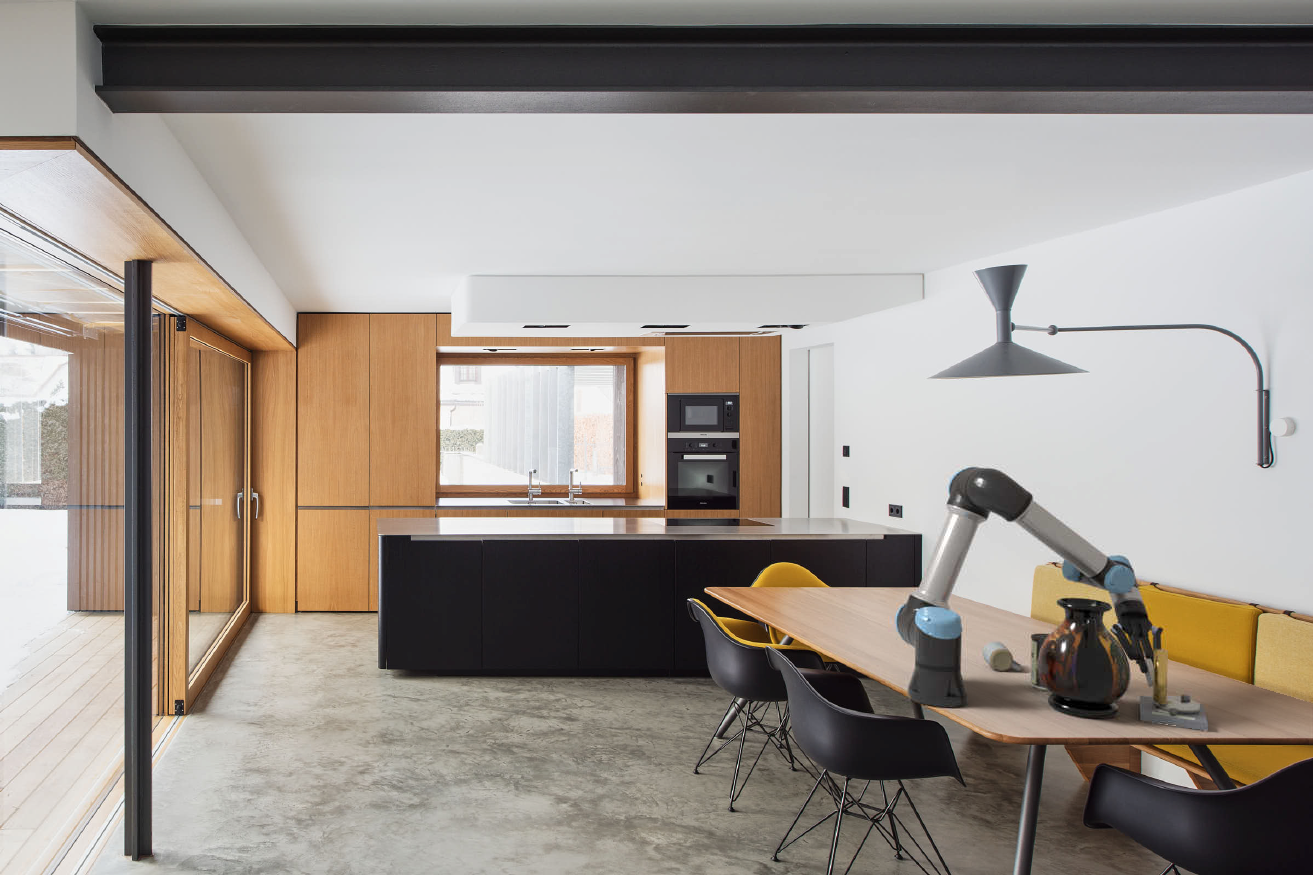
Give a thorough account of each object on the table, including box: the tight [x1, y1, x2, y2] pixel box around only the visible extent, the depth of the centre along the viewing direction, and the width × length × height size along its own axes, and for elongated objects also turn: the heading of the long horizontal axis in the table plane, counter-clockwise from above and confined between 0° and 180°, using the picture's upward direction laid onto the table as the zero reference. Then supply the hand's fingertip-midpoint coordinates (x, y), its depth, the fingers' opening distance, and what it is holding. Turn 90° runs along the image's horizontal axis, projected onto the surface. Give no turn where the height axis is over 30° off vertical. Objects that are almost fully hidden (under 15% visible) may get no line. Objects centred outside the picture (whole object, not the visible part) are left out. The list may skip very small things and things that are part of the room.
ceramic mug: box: [982, 640, 1023, 672], centre depth 254 cm, size 11×8×8 cm
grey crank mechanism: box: [1139, 694, 1209, 732], centre depth 211 cm, size 18×14×4 cm
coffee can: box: [1030, 633, 1051, 692], centre depth 235 cm, size 10×10×14 cm
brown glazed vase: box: [1038, 597, 1132, 719], centre depth 215 cm, size 22×22×28 cm
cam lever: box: [1152, 648, 1201, 714], centre depth 211 cm, size 10×11×15 cm
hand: (1153, 683), depth 213 cm, fingers closed
